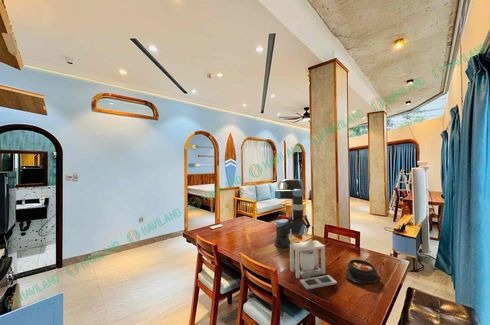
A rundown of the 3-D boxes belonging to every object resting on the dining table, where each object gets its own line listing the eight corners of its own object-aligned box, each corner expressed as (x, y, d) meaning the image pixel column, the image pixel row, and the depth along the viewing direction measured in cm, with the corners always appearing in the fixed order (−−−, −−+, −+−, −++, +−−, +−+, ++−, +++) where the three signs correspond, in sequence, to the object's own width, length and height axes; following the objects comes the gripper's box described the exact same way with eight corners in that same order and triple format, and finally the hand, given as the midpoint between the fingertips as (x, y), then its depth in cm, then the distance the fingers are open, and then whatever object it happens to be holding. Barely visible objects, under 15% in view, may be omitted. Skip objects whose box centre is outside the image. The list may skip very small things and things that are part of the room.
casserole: (366, 291, 118) (366, 277, 118) (337, 276, 134) (337, 264, 134) (385, 277, 131) (385, 265, 131) (357, 265, 147) (357, 254, 147)
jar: (317, 271, 140) (317, 251, 139) (311, 278, 132) (310, 256, 132) (304, 266, 147) (304, 246, 147) (297, 271, 140) (296, 251, 140)
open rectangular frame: (290, 270, 142) (289, 243, 142) (316, 266, 147) (316, 240, 147) (306, 289, 121) (306, 258, 121) (337, 283, 126) (336, 253, 126)
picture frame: (288, 262, 152) (288, 243, 152) (306, 259, 155) (306, 240, 155) (302, 277, 131) (302, 255, 131) (323, 274, 135) (322, 252, 135)
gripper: (285, 211, 145) (285, 240, 145) (314, 209, 151) (315, 236, 151) (281, 209, 152) (281, 236, 152) (309, 207, 158) (309, 233, 158)
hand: (298, 236), depth 152 cm, fingers open, 13 cm apart
